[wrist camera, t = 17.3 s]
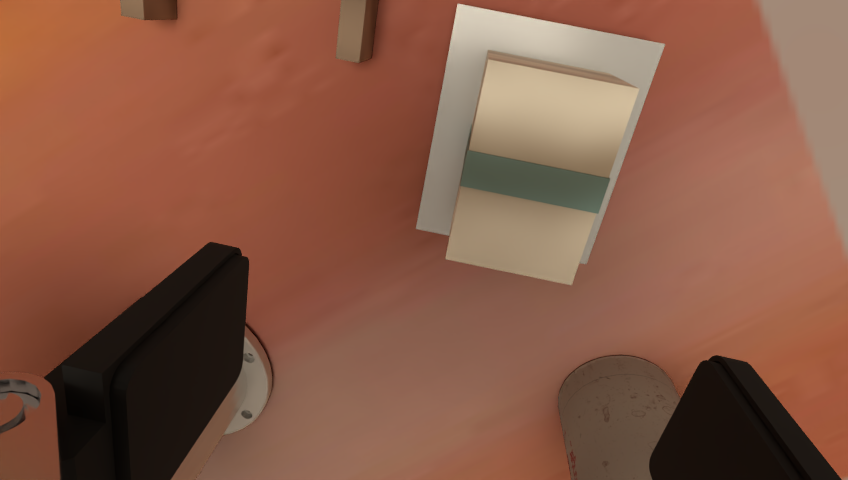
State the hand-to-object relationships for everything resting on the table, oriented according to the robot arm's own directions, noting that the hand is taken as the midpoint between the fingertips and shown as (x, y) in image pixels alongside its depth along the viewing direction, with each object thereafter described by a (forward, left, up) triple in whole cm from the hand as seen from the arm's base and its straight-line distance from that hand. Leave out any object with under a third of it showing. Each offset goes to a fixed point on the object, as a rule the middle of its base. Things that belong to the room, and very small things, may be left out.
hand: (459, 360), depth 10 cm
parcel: (0, -3, -18) cm, 18 cm away
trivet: (+1, -3, -21) cm, 21 cm away
